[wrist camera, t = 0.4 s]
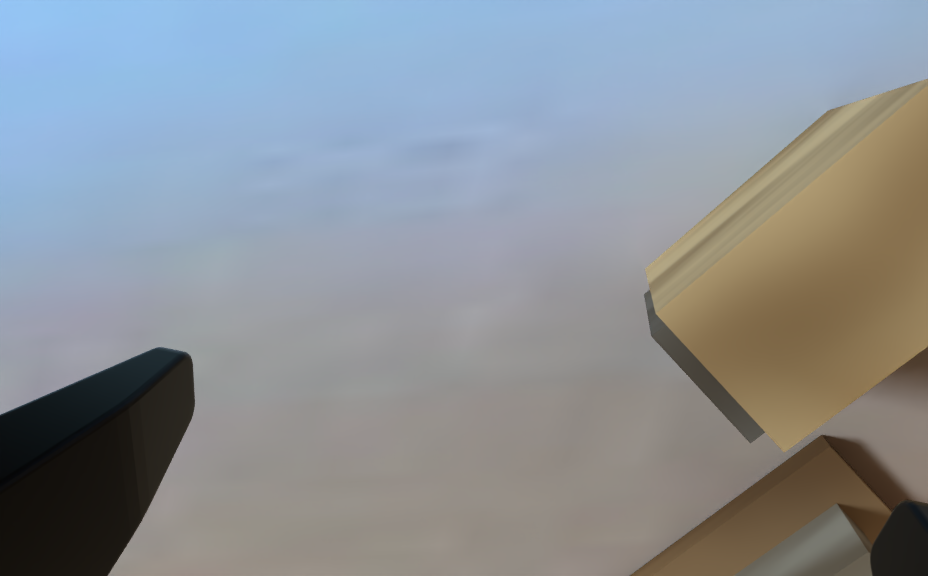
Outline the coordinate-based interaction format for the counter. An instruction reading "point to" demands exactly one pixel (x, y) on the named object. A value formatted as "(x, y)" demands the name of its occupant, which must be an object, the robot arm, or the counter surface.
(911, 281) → the oak rail end
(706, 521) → the slot board
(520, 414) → the counter surface
